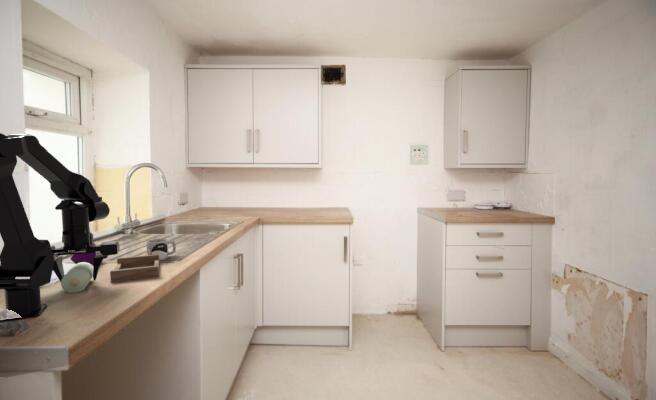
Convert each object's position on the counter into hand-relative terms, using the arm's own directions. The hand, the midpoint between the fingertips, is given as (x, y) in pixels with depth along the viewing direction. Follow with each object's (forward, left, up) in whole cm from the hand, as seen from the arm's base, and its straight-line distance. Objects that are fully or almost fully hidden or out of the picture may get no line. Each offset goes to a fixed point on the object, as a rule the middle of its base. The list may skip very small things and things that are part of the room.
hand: (79, 282), depth 91 cm
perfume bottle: (+24, +2, -2) cm, 24 cm away
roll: (0, 0, -1) cm, 1 cm away
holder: (+9, -13, -1) cm, 16 cm away
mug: (+24, -20, -2) cm, 31 cm away
